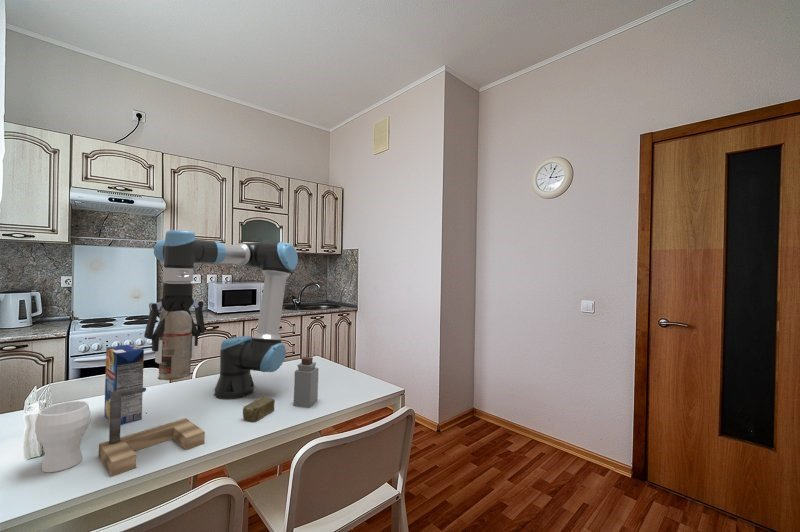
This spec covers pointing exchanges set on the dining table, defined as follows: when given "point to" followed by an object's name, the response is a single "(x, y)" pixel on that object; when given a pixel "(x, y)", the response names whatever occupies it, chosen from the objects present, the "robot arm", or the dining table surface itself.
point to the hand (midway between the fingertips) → (175, 359)
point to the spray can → (175, 345)
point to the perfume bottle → (306, 383)
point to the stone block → (258, 408)
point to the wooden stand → (141, 437)
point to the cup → (62, 434)
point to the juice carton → (124, 380)
